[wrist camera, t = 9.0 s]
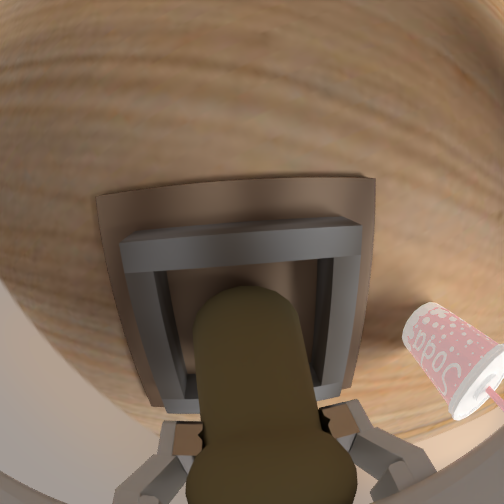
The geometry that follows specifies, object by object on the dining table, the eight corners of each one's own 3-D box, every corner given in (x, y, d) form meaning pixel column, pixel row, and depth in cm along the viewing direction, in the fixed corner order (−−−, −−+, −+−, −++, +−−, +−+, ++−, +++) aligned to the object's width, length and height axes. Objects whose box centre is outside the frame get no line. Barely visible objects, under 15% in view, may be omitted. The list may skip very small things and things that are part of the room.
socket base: (367, 177, 15) (399, 181, 12) (346, 379, 20) (361, 408, 17) (102, 194, 14) (74, 202, 11) (153, 397, 19) (146, 429, 16)
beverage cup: (420, 284, 18) (550, 389, 5) (456, 303, 19) (558, 386, 6) (382, 349, 20) (474, 476, 6) (422, 358, 21) (503, 455, 7)
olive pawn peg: (223, 386, 16) (232, 552, 5) (171, 313, 14) (119, 517, 3) (313, 350, 15) (387, 512, 5) (277, 266, 14) (382, 472, 3)
